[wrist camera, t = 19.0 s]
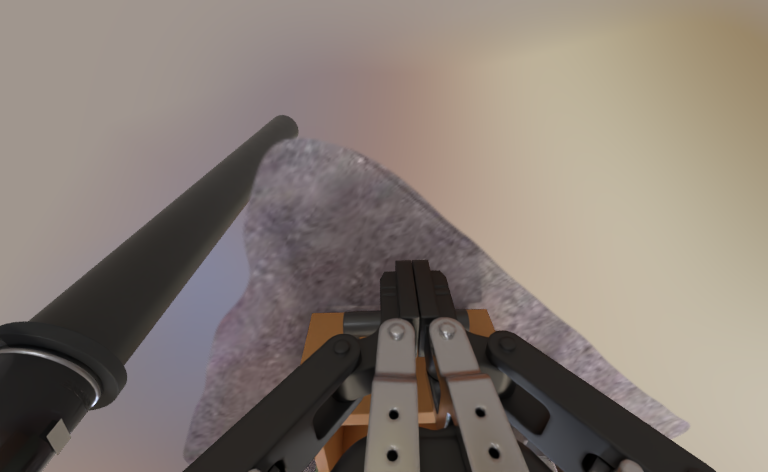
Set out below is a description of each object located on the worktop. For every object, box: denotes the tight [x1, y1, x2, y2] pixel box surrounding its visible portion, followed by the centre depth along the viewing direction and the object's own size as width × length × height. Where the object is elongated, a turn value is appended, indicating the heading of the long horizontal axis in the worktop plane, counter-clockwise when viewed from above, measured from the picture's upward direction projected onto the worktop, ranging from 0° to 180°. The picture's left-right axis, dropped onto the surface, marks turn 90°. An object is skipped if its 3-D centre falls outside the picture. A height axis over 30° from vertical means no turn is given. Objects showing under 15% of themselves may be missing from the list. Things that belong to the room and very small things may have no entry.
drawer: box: [300, 309, 495, 472], centre depth 24 cm, size 19×13×8 cm
